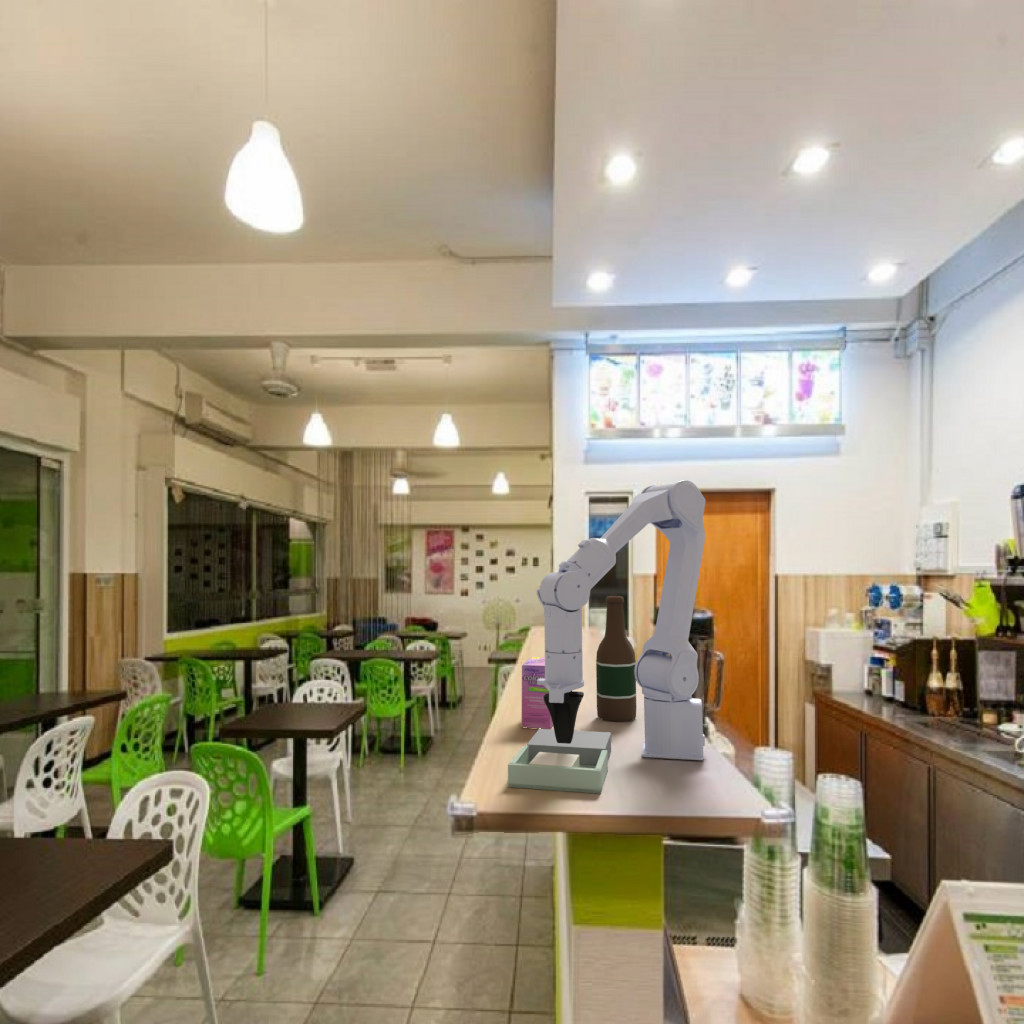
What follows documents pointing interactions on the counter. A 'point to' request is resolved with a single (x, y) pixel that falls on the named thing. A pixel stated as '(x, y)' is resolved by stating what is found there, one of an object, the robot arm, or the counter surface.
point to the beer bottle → (615, 668)
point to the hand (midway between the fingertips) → (564, 742)
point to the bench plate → (572, 745)
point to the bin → (557, 774)
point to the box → (534, 695)
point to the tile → (556, 759)
